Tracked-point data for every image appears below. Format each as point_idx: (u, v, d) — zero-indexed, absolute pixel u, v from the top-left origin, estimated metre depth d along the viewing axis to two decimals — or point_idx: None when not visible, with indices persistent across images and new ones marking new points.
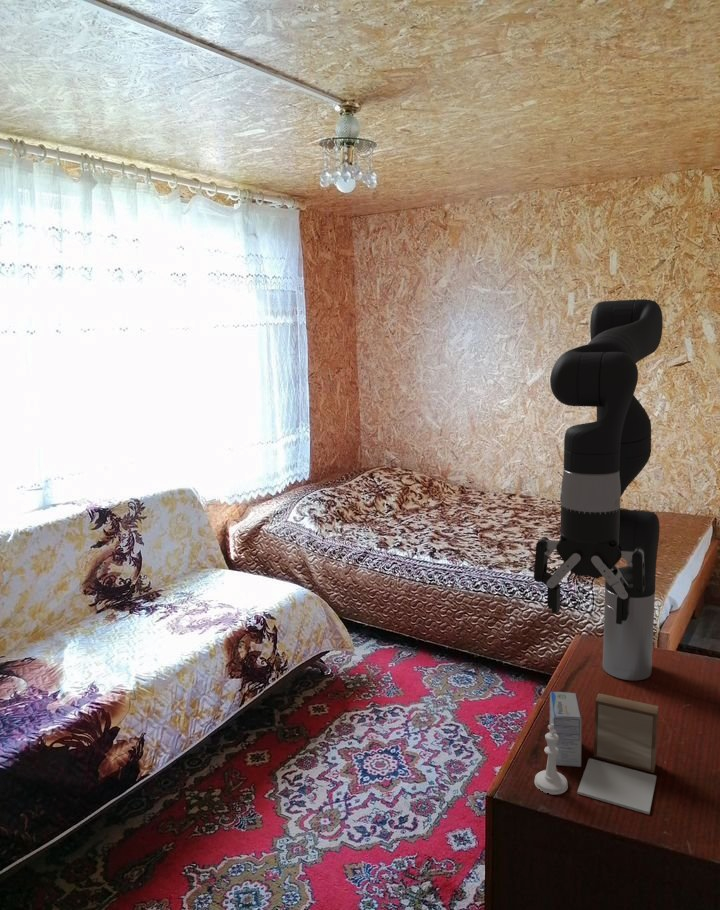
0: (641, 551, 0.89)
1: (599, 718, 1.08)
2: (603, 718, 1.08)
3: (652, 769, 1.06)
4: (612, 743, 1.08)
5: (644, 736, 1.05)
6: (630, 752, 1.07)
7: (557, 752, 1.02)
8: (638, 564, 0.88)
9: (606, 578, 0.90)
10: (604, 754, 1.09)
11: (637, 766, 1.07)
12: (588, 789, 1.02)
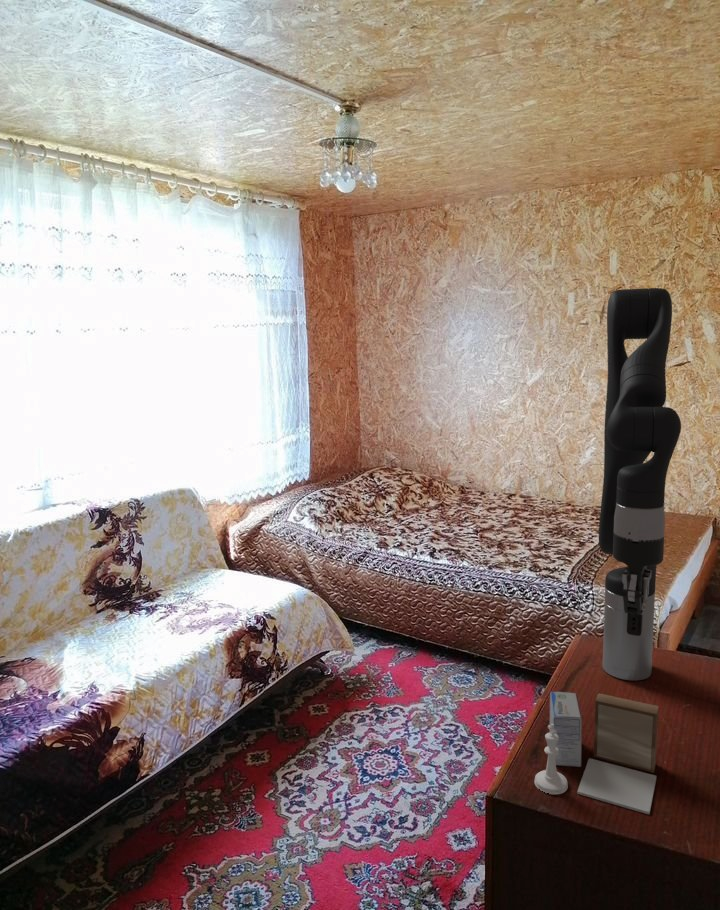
0: None
1: (599, 718, 1.08)
2: (603, 718, 1.08)
3: (652, 769, 1.06)
4: (612, 743, 1.08)
5: (644, 736, 1.05)
6: (630, 752, 1.07)
7: (557, 752, 1.02)
8: None
9: (648, 591, 1.10)
10: (604, 754, 1.09)
11: (637, 766, 1.07)
12: (588, 789, 1.02)
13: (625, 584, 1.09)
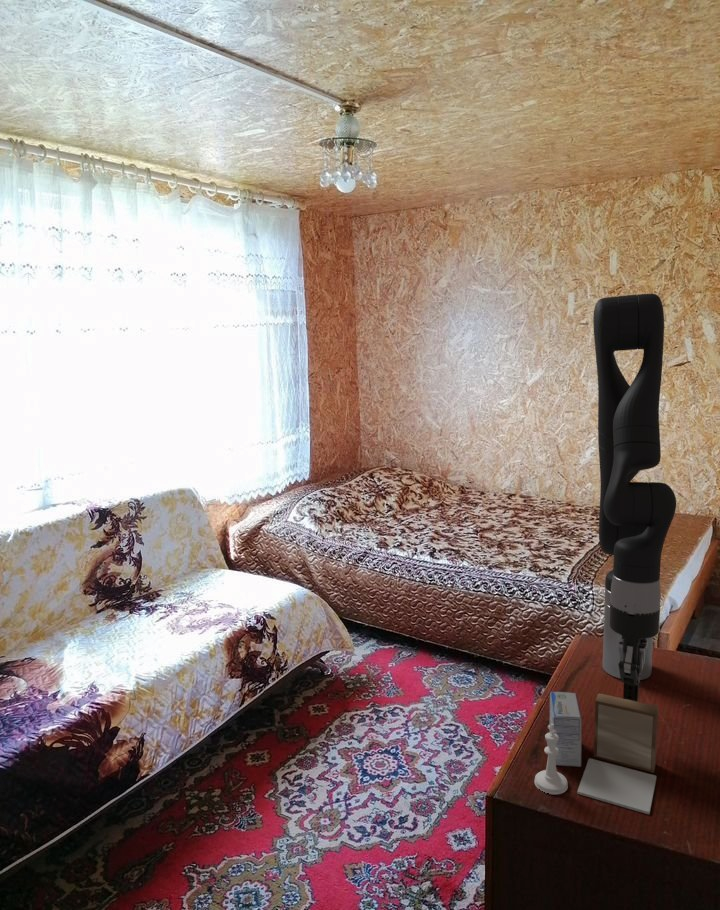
0: None
1: (599, 718, 1.08)
2: (603, 718, 1.08)
3: (652, 769, 1.06)
4: (612, 743, 1.08)
5: (644, 736, 1.05)
6: (630, 752, 1.07)
7: (557, 752, 1.02)
8: None
9: (644, 660, 1.12)
10: (604, 754, 1.09)
11: (637, 766, 1.07)
12: (588, 789, 1.02)
13: (621, 654, 1.11)
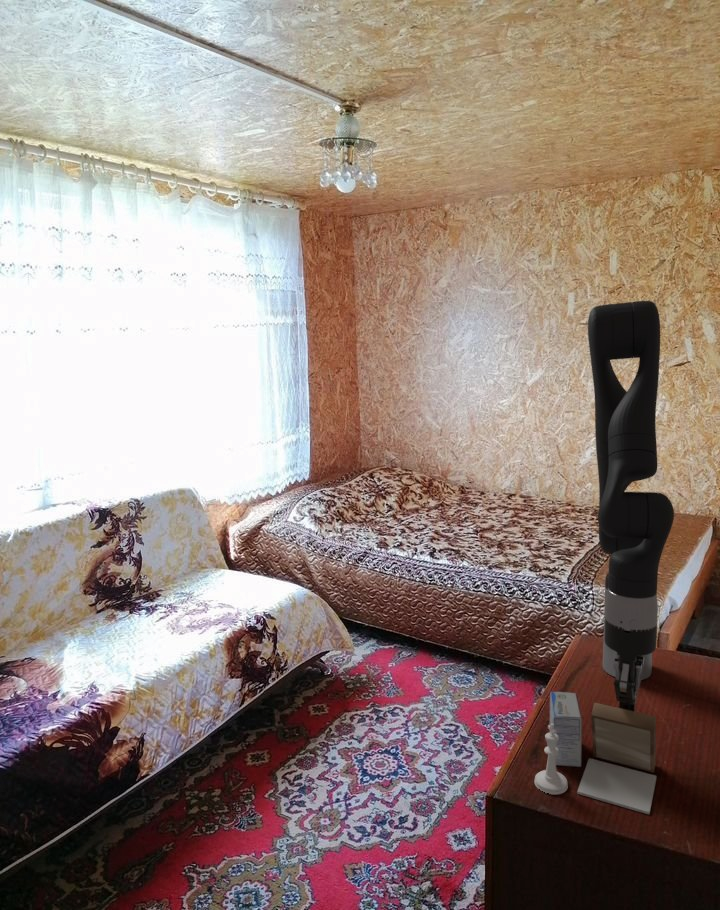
0: None
1: (596, 729, 1.06)
2: (600, 729, 1.06)
3: (652, 770, 1.05)
4: (611, 748, 1.07)
5: (643, 746, 1.03)
6: (629, 756, 1.06)
7: (557, 752, 1.02)
8: None
9: (640, 677, 1.07)
10: (603, 756, 1.09)
11: (637, 767, 1.06)
12: (588, 789, 1.02)
13: (617, 671, 1.06)
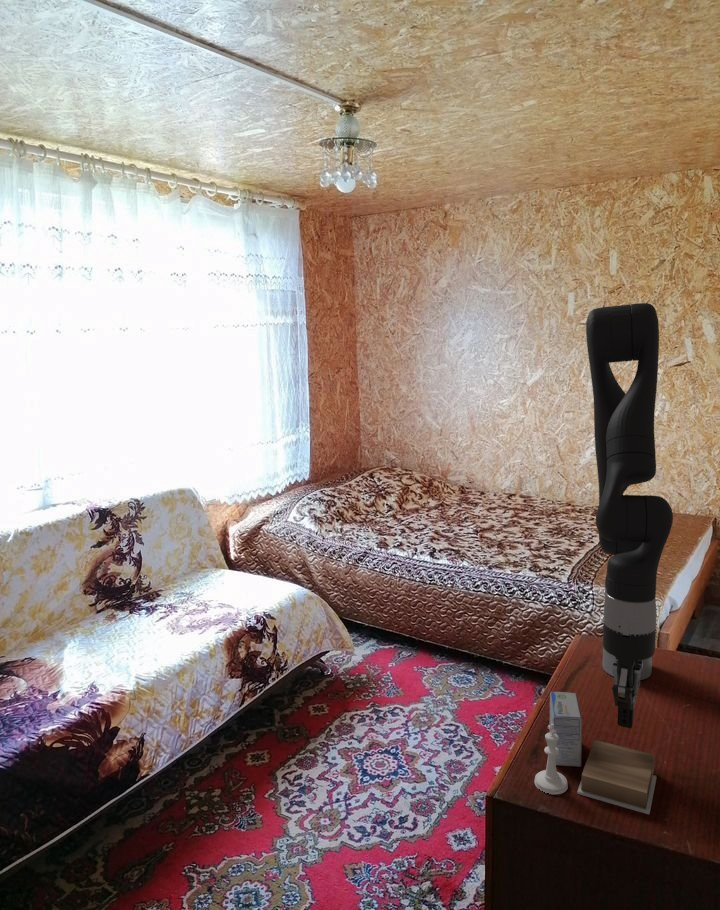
0: None
1: None
2: None
3: (652, 770, 1.05)
4: None
5: None
6: None
7: (557, 752, 1.02)
8: None
9: (639, 682, 1.06)
10: None
11: None
12: None
13: (615, 676, 1.05)
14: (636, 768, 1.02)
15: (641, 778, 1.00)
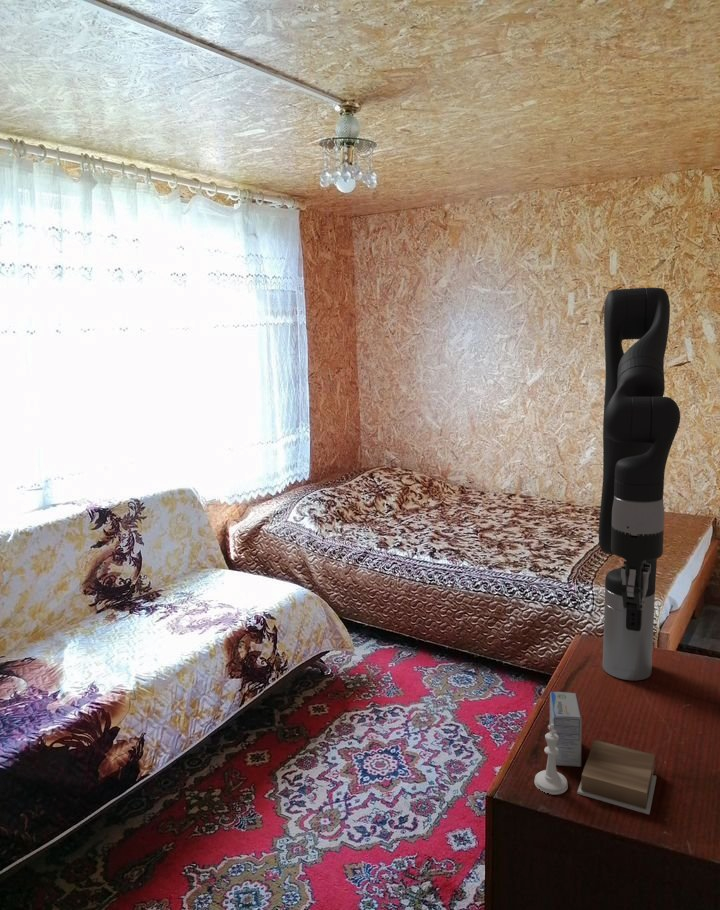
0: None
1: None
2: None
3: (652, 770, 1.05)
4: None
5: None
6: None
7: (557, 752, 1.02)
8: None
9: (647, 585, 1.07)
10: None
11: None
12: None
13: (624, 579, 1.06)
14: (636, 768, 1.02)
15: (641, 778, 1.00)
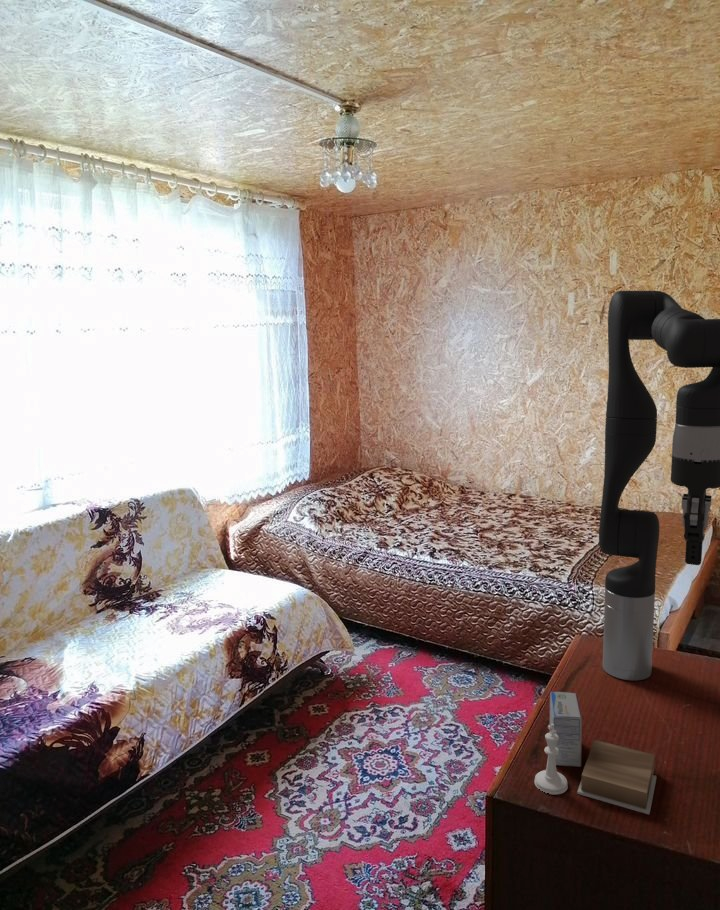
0: None
1: None
2: None
3: (652, 770, 1.05)
4: None
5: None
6: None
7: (557, 752, 1.02)
8: None
9: (708, 517, 1.04)
10: None
11: None
12: None
13: (685, 510, 1.03)
14: (636, 768, 1.02)
15: (641, 778, 1.00)
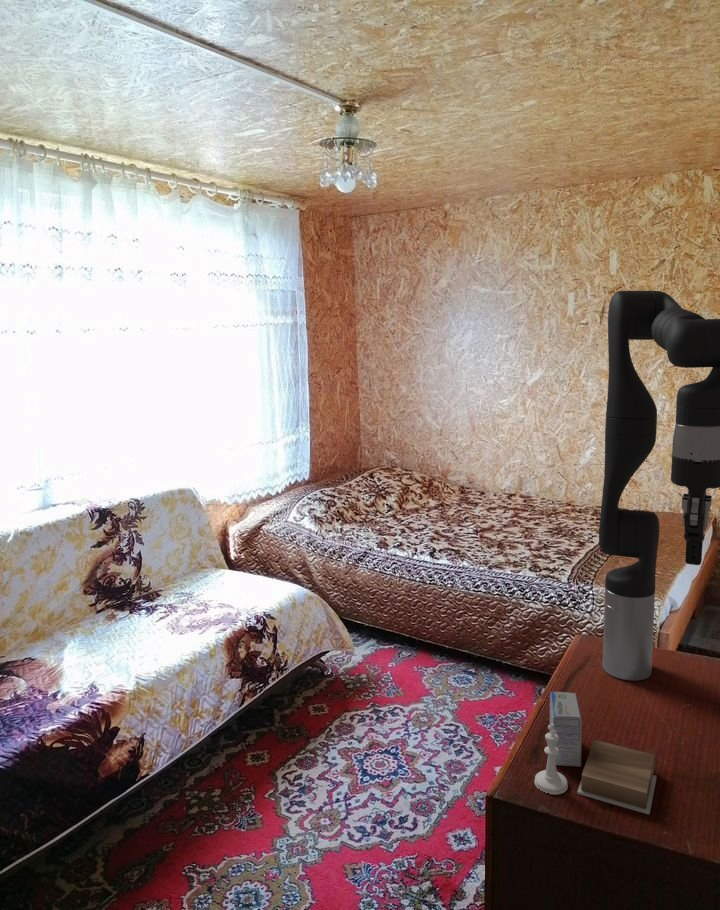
0: None
1: None
2: None
3: (652, 770, 1.05)
4: None
5: None
6: None
7: (557, 752, 1.02)
8: None
9: (708, 517, 1.04)
10: None
11: None
12: None
13: (685, 510, 1.03)
14: (636, 768, 1.02)
15: (641, 778, 1.00)
